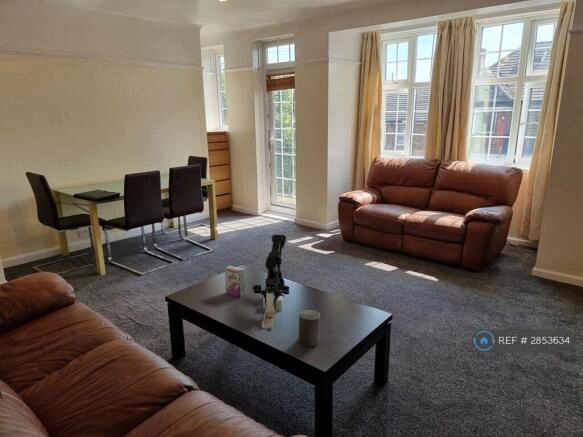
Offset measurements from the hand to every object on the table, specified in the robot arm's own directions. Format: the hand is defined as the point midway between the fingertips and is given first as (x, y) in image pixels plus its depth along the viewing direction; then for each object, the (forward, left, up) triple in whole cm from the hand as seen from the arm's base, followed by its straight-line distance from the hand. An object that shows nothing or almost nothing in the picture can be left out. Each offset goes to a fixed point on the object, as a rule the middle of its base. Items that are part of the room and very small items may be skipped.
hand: (269, 305), depth 208 cm
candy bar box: (-5, -36, -8) cm, 37 cm away
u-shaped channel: (+2, +2, -7) cm, 8 cm away
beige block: (-5, -4, -6) cm, 9 cm away
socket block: (-9, -8, -7) cm, 14 cm away
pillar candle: (+2, +29, -8) cm, 30 cm away
